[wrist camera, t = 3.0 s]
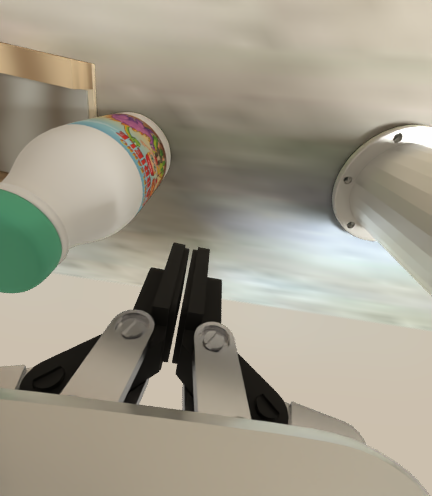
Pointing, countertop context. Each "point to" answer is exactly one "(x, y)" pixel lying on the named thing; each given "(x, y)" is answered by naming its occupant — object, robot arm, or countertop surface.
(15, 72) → the cradle
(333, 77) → the countertop surface
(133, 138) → the milk bottle
